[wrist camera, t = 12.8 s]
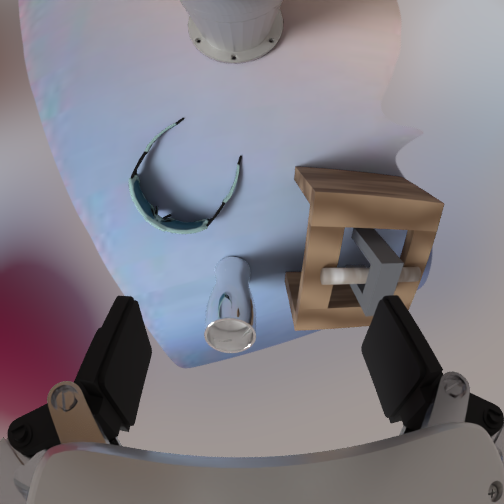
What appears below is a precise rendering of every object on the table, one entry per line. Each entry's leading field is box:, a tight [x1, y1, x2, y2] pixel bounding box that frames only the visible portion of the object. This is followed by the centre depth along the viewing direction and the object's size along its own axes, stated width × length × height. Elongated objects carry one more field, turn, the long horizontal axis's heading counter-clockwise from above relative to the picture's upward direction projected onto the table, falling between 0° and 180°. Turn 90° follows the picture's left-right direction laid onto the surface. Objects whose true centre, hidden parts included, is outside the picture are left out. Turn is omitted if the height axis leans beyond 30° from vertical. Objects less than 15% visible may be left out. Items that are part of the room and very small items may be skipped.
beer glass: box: [204, 256, 256, 353], centre depth 41 cm, size 7×7×15 cm
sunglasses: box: [129, 118, 242, 234], centre depth 38 cm, size 14×15×5 cm
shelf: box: [285, 167, 444, 330], centre depth 38 cm, size 20×18×14 cm
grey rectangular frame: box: [346, 228, 404, 316], centre depth 34 cm, size 8×3×9 cm, turn 179°
